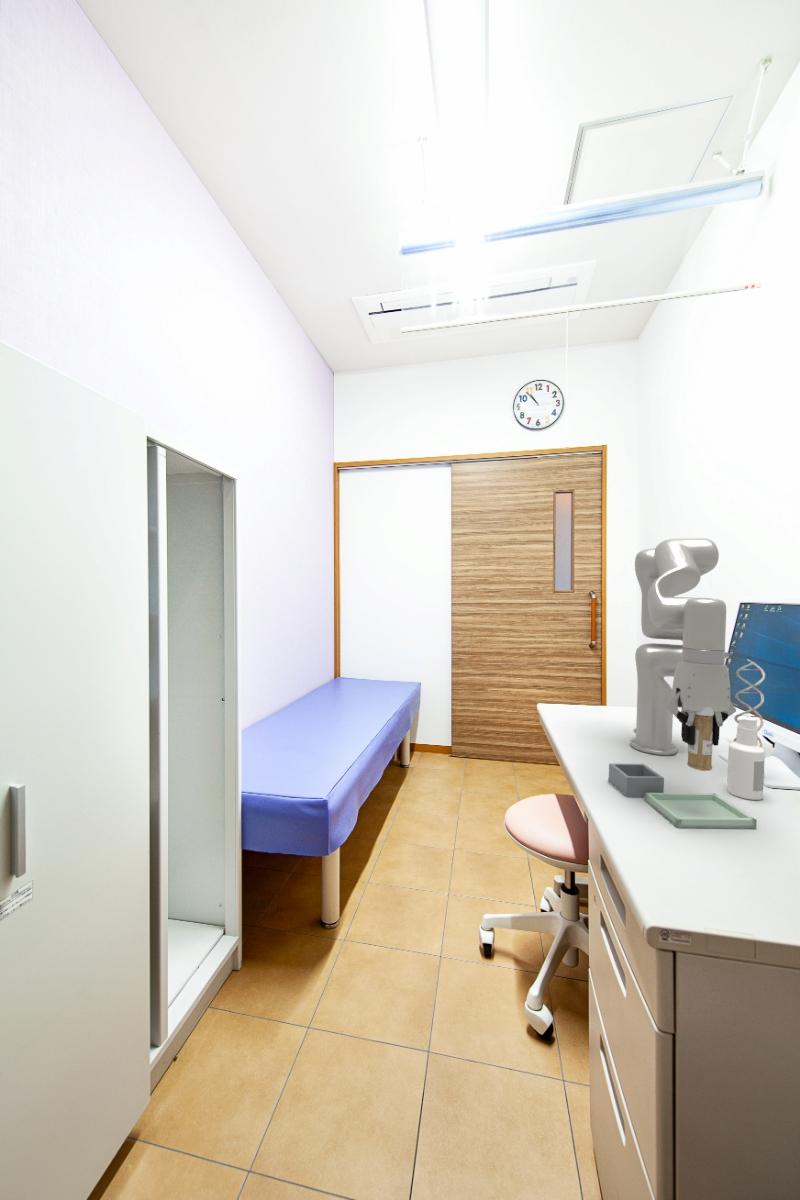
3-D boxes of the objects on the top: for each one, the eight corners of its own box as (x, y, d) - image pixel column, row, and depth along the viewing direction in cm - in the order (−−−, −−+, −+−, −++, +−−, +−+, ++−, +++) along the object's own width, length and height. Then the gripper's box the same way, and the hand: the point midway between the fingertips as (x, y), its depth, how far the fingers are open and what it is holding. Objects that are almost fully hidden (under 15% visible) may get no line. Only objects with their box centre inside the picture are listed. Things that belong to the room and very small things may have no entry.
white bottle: (769, 802, 105) (772, 723, 105) (735, 798, 106) (738, 720, 106) (753, 789, 112) (756, 715, 111) (721, 786, 113) (724, 713, 113)
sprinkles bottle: (714, 773, 95) (717, 708, 95) (688, 769, 97) (691, 705, 97) (709, 765, 100) (711, 703, 99) (684, 762, 101) (686, 700, 101)
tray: (644, 800, 105) (644, 792, 105) (714, 801, 105) (714, 793, 105) (677, 828, 93) (677, 819, 93) (756, 828, 93) (756, 820, 93)
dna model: (766, 782, 116) (771, 663, 115) (736, 778, 118) (740, 661, 118) (756, 773, 122) (761, 659, 122) (727, 769, 125) (732, 657, 124)
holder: (608, 781, 115) (609, 763, 115) (643, 781, 115) (643, 763, 115) (626, 797, 106) (626, 777, 106) (663, 797, 106) (664, 778, 106)
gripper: (729, 655, 102) (726, 738, 102) (653, 654, 102) (650, 737, 102) (756, 660, 94) (752, 750, 95) (674, 659, 94) (671, 748, 94)
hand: (699, 742), depth 98 cm, fingers closed on sprinkles bottle, 4 cm apart
